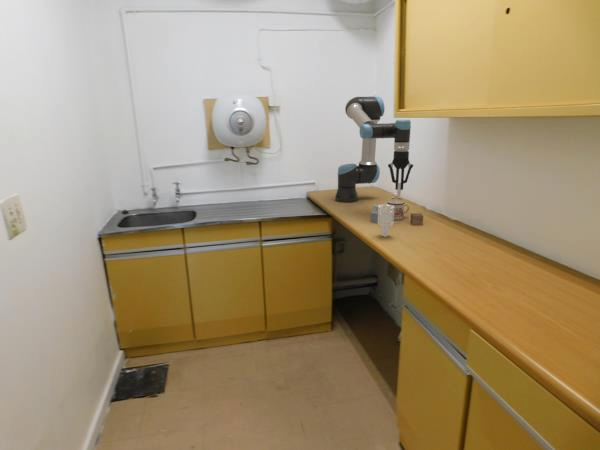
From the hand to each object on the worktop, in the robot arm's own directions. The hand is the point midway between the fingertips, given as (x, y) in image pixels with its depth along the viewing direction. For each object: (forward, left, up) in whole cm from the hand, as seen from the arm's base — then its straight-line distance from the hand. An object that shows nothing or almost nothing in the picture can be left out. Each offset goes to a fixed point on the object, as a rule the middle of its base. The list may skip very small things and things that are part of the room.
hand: (398, 195), depth 198 cm
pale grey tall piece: (+34, -3, -12) cm, 36 cm away
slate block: (+10, -10, -12) cm, 19 cm away
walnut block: (+9, +10, -12) cm, 18 cm away
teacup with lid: (0, 0, -12) cm, 12 cm away
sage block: (-6, -11, -12) cm, 17 cm away
